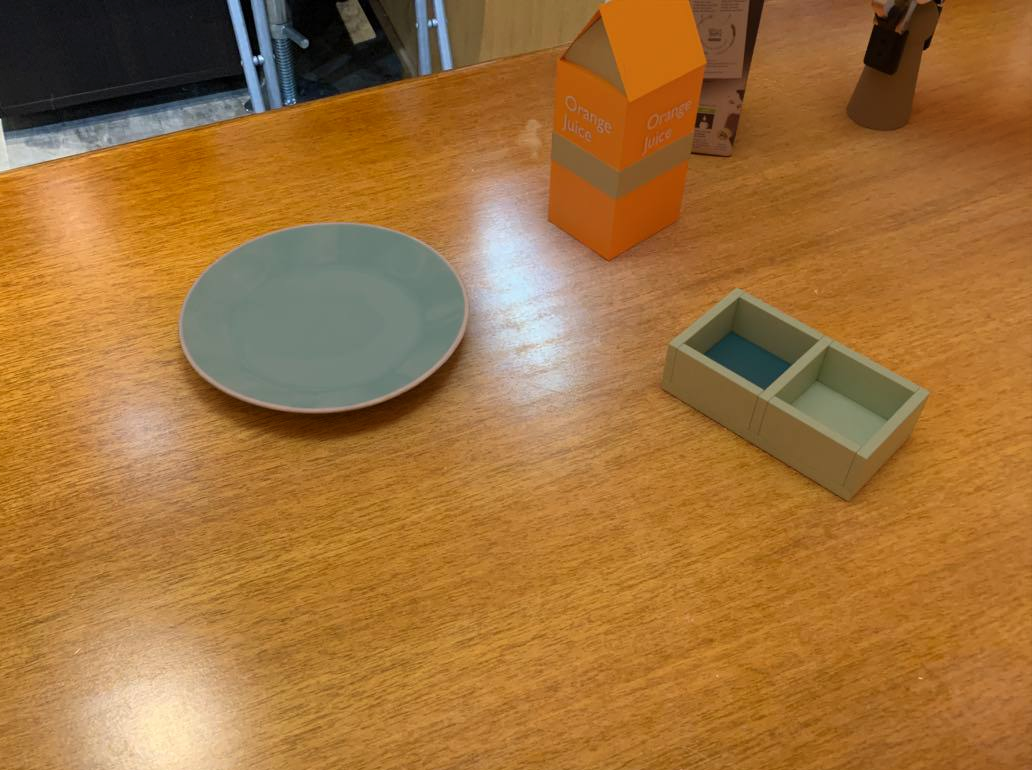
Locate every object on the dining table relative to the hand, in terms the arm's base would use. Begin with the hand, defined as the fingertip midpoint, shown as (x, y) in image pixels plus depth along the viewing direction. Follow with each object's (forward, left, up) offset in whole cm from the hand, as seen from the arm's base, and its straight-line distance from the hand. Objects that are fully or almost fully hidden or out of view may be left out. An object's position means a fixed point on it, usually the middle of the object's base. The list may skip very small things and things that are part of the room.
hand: (896, 54), depth 101 cm
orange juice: (+8, +31, -6) cm, 33 cm away
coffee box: (+11, +14, -6) cm, 19 cm away
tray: (-16, +41, -6) cm, 44 cm away
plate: (+15, +58, -6) cm, 60 cm away
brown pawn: (0, 0, -6) cm, 6 cm away
